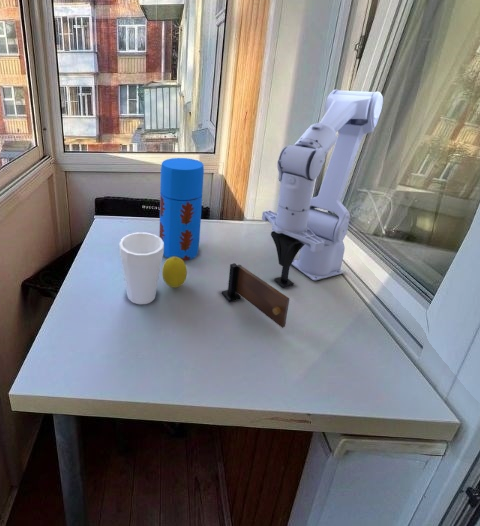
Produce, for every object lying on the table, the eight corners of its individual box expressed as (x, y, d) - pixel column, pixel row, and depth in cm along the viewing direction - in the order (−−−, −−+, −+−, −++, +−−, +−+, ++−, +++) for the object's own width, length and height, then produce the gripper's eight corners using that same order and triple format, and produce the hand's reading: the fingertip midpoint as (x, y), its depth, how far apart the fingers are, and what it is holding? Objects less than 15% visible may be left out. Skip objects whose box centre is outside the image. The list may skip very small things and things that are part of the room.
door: (285, 326, 64) (290, 298, 62) (278, 330, 63) (283, 301, 61) (236, 289, 74) (239, 264, 72) (230, 291, 73) (233, 266, 71)
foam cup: (168, 288, 76) (170, 237, 72) (153, 314, 68) (154, 259, 64) (131, 277, 80) (130, 229, 76) (112, 301, 72) (111, 248, 68)
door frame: (284, 277, 80) (288, 248, 77) (293, 285, 77) (298, 255, 75) (221, 293, 74) (224, 262, 72) (229, 302, 72) (232, 270, 69)
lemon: (185, 296, 73) (186, 265, 71) (160, 293, 74) (161, 262, 72) (186, 281, 79) (188, 251, 76) (163, 278, 80) (164, 249, 77)
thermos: (166, 263, 85) (169, 171, 78) (154, 242, 95) (155, 159, 88) (205, 258, 88) (211, 168, 80) (189, 238, 98) (194, 156, 90)
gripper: (253, 194, 71) (247, 250, 75) (306, 224, 58) (296, 289, 62) (279, 190, 73) (272, 244, 77) (337, 218, 60) (325, 281, 64)
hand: (284, 264), depth 70 cm, fingers closed
